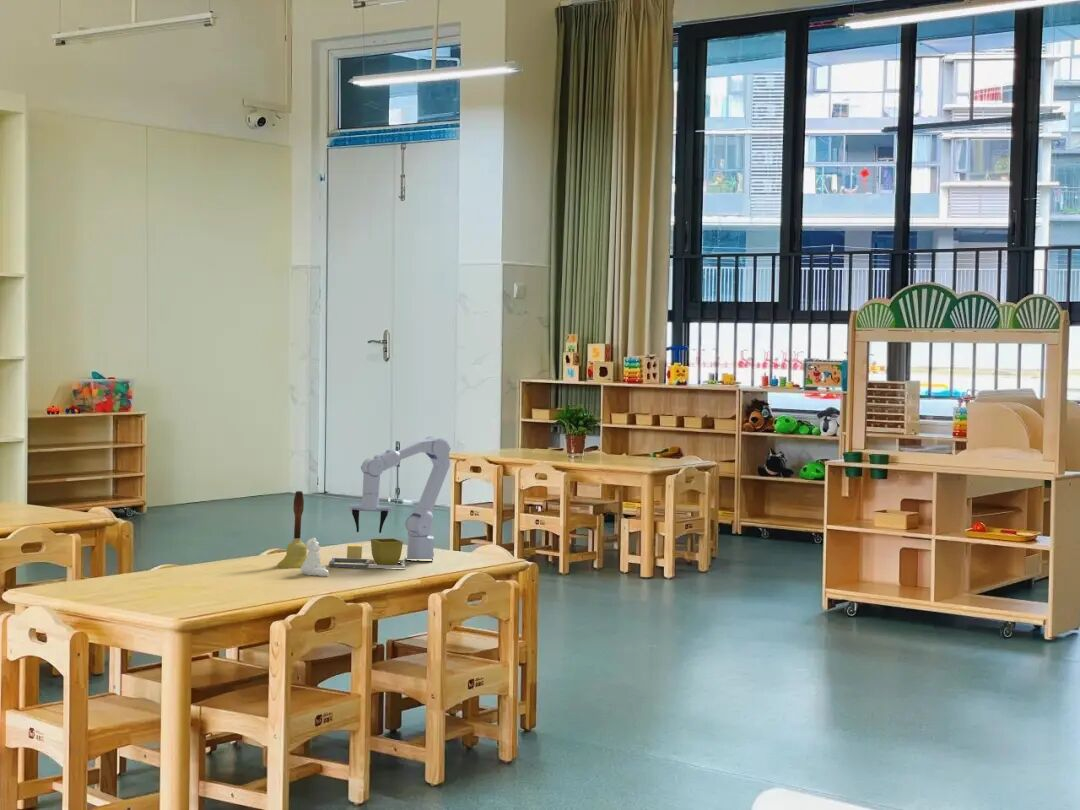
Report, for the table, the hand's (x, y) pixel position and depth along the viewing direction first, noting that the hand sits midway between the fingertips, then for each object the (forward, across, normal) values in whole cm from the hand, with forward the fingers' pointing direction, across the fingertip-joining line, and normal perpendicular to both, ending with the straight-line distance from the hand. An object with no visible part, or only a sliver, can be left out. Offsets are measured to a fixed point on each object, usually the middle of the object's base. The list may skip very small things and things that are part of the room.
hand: (368, 532), depth 455 cm
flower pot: (+11, -6, +7) cm, 14 cm away
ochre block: (+11, +5, -6) cm, 13 cm away
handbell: (+11, +24, +11) cm, 28 cm away
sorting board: (+10, 0, +7) cm, 13 cm away
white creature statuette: (+11, +17, +28) cm, 34 cm away
